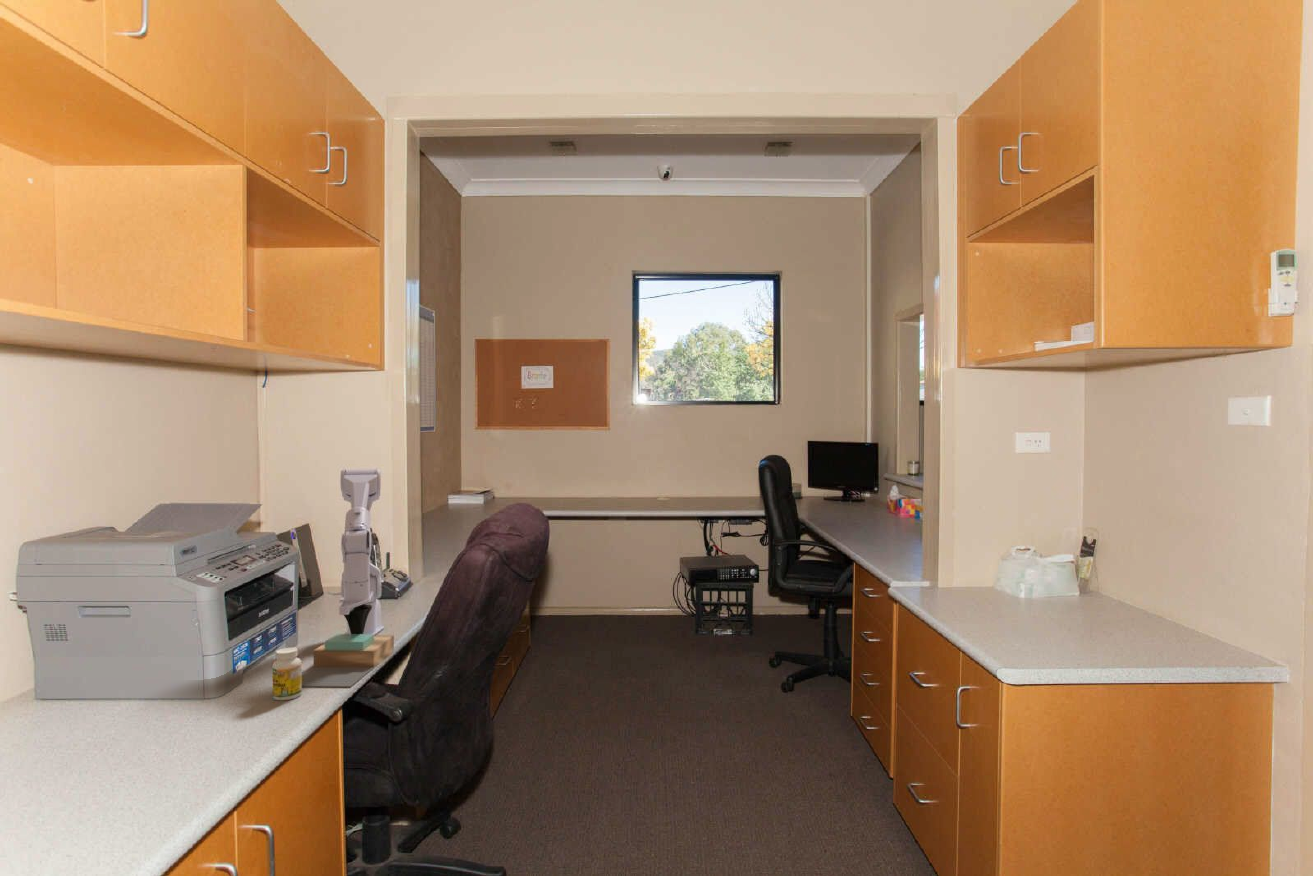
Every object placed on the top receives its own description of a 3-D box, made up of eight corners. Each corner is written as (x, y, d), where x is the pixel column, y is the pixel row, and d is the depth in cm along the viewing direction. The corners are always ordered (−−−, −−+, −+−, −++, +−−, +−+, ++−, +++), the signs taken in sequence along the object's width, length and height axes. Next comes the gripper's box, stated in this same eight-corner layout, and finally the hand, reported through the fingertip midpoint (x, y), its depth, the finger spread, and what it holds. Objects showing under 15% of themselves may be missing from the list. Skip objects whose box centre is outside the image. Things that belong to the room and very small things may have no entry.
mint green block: (336, 642, 174) (336, 633, 174) (374, 642, 174) (374, 634, 174) (324, 650, 168) (324, 641, 168) (363, 650, 168) (363, 641, 168)
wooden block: (337, 651, 180) (337, 635, 180) (393, 651, 179) (393, 635, 179) (313, 667, 168) (313, 650, 168) (373, 668, 167) (373, 651, 167)
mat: (313, 667, 168) (313, 666, 168) (373, 668, 167) (373, 667, 167) (285, 687, 156) (285, 685, 156) (350, 687, 155) (350, 686, 155)
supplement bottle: (307, 693, 152) (307, 648, 152) (285, 702, 147) (285, 655, 147) (289, 689, 154) (288, 645, 154) (266, 698, 149) (266, 652, 149)
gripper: (353, 574, 182) (354, 628, 182) (325, 587, 167) (326, 646, 168) (381, 574, 182) (381, 628, 182) (356, 587, 167) (356, 646, 167)
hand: (357, 636), depth 175 cm, fingers closed
